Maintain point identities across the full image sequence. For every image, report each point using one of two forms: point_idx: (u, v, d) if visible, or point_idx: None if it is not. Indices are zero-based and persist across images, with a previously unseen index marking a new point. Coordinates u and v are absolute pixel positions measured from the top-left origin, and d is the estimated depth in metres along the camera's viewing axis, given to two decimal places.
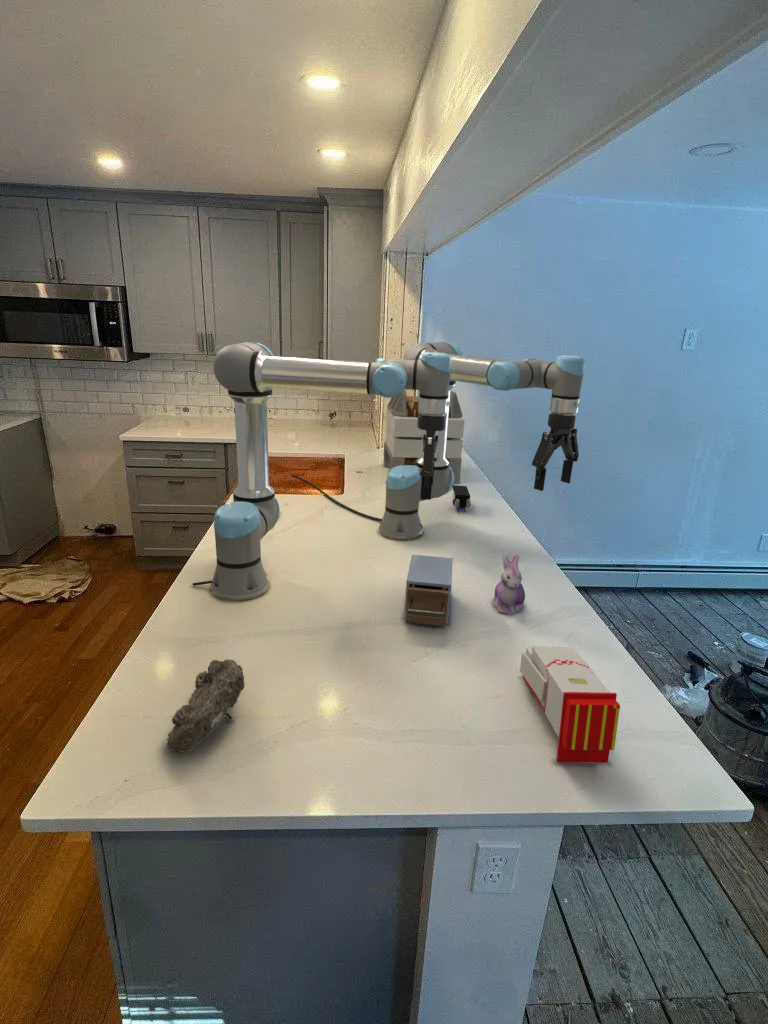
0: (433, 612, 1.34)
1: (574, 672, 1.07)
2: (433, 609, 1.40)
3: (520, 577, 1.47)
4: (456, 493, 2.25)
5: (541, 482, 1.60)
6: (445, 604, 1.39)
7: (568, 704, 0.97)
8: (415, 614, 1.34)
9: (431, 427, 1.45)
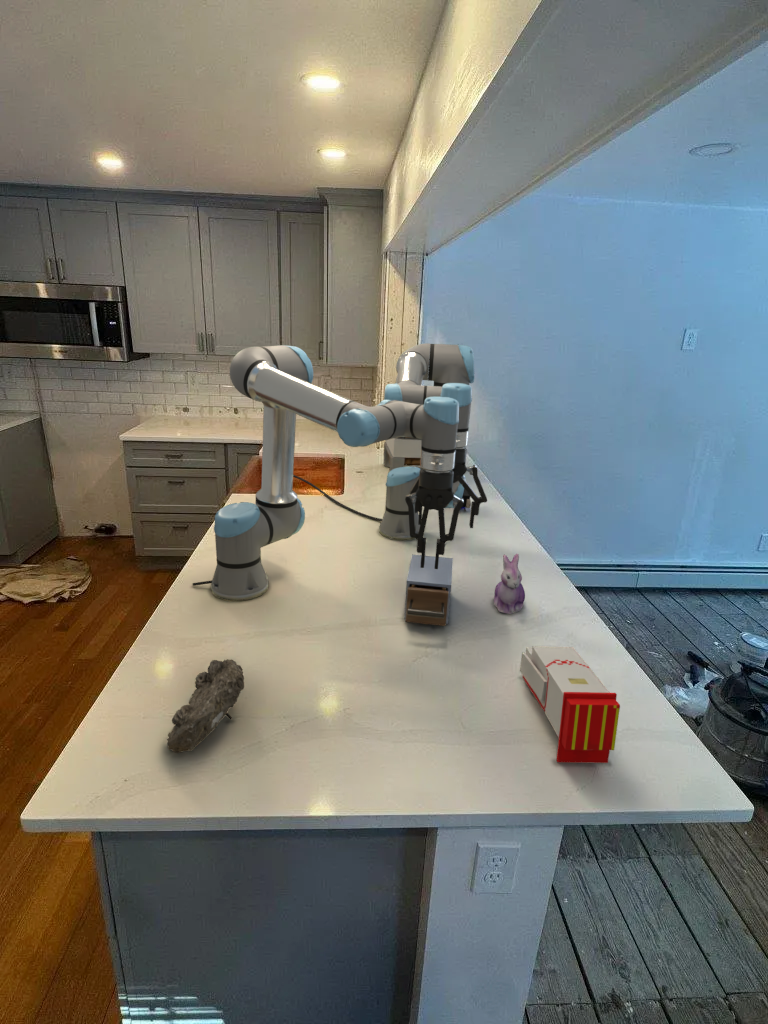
0: (433, 612, 1.34)
1: (574, 672, 1.07)
2: (433, 609, 1.40)
3: (520, 577, 1.47)
4: None
5: (418, 515, 1.49)
6: (445, 604, 1.39)
7: (568, 704, 0.97)
8: (415, 614, 1.34)
9: None
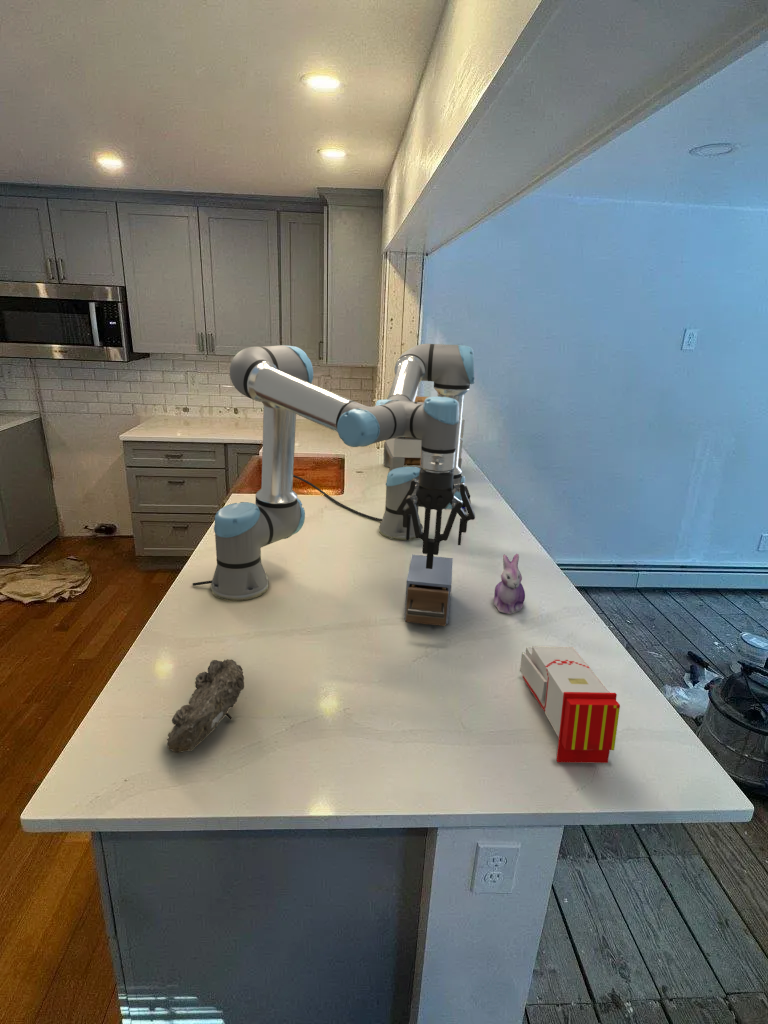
0: (433, 612, 1.34)
1: (574, 672, 1.07)
2: (433, 609, 1.40)
3: (520, 577, 1.47)
4: None
5: (406, 531, 1.49)
6: (445, 604, 1.39)
7: (568, 704, 0.97)
8: (415, 614, 1.34)
9: None
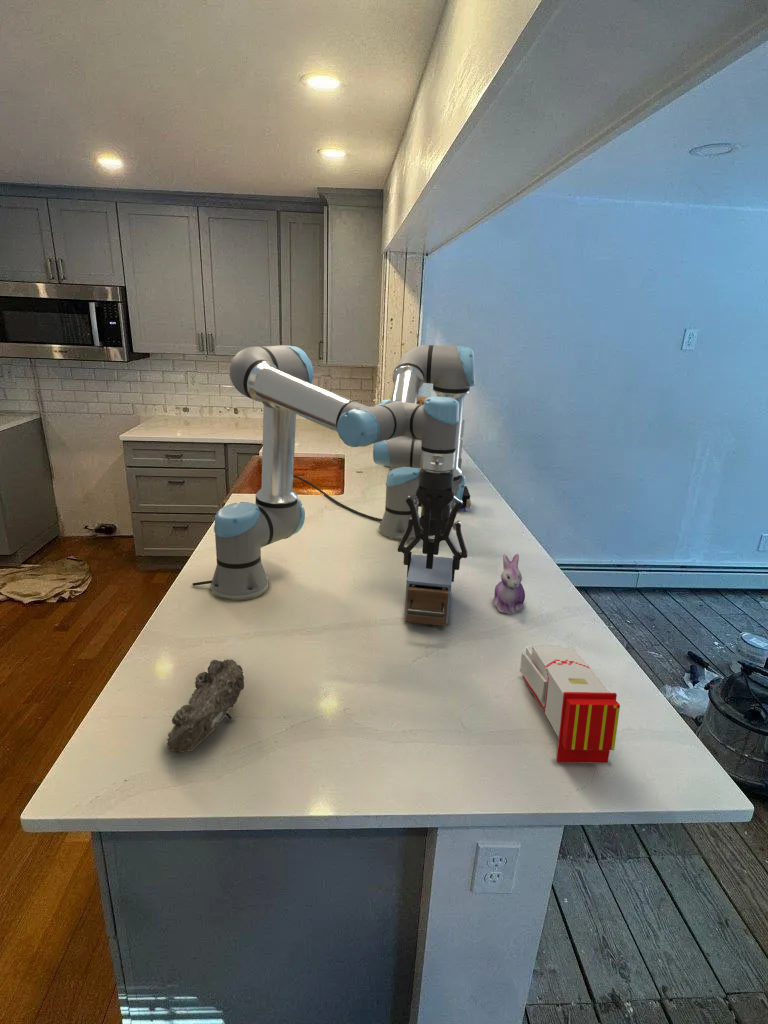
0: (433, 612, 1.34)
1: (574, 672, 1.07)
2: (433, 609, 1.40)
3: (520, 577, 1.47)
4: None
5: (407, 568, 1.53)
6: (445, 604, 1.39)
7: (568, 704, 0.97)
8: (415, 614, 1.34)
9: None
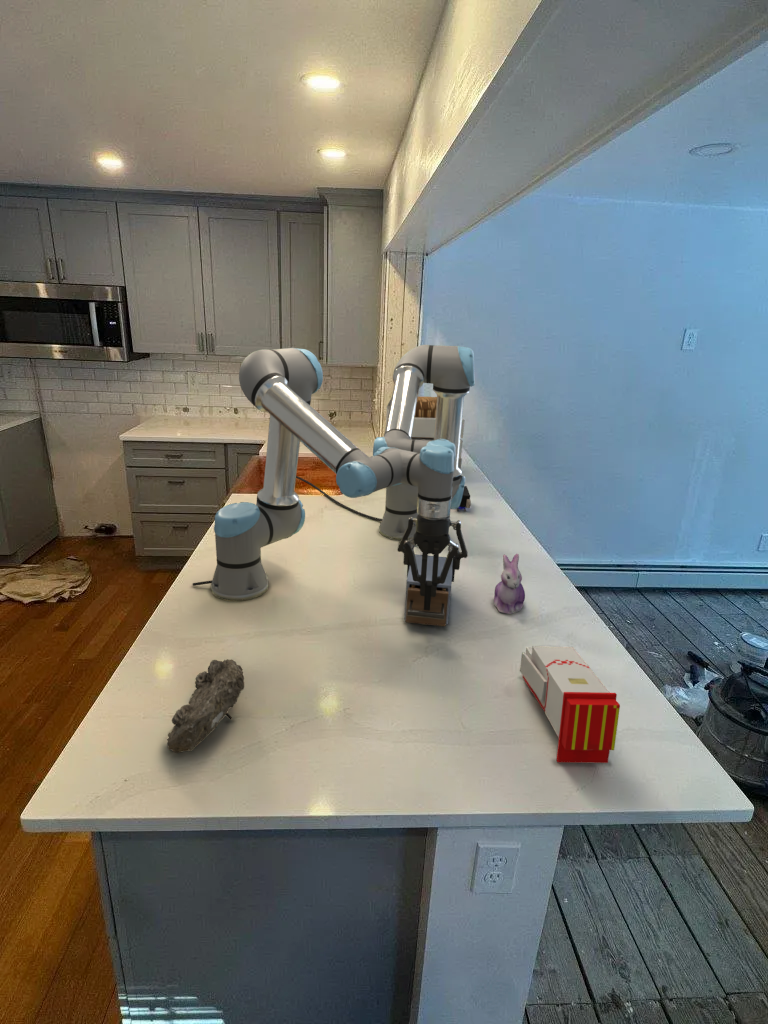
0: (433, 613, 1.34)
1: (574, 672, 1.07)
2: (433, 610, 1.40)
3: (520, 577, 1.47)
4: None
5: (407, 568, 1.53)
6: (445, 605, 1.39)
7: (568, 704, 0.97)
8: (415, 615, 1.34)
9: None
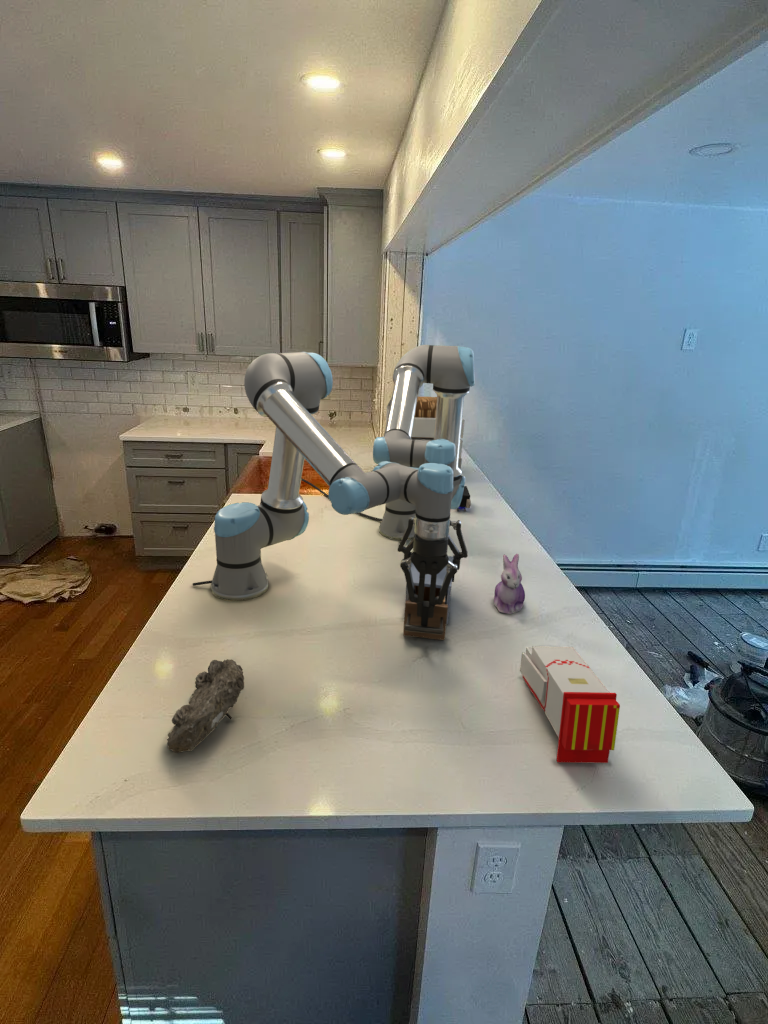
0: (431, 628, 1.28)
1: (574, 672, 1.07)
2: (432, 623, 1.35)
3: (520, 577, 1.47)
4: None
5: None
6: (444, 618, 1.34)
7: (568, 704, 0.97)
8: (413, 630, 1.29)
9: (413, 545, 1.25)
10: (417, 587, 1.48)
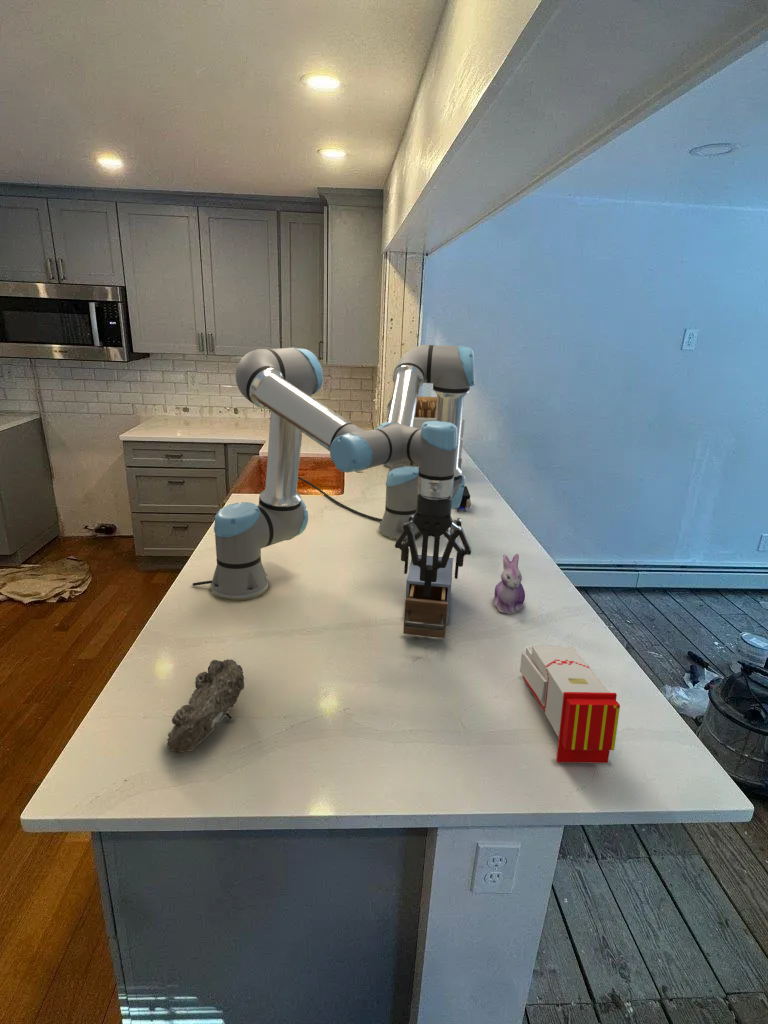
0: (431, 624, 1.29)
1: (574, 672, 1.07)
2: (432, 621, 1.35)
3: (520, 577, 1.47)
4: None
5: None
6: (444, 616, 1.34)
7: (568, 704, 0.97)
8: (413, 626, 1.29)
9: (416, 506, 1.22)
10: (417, 587, 1.48)
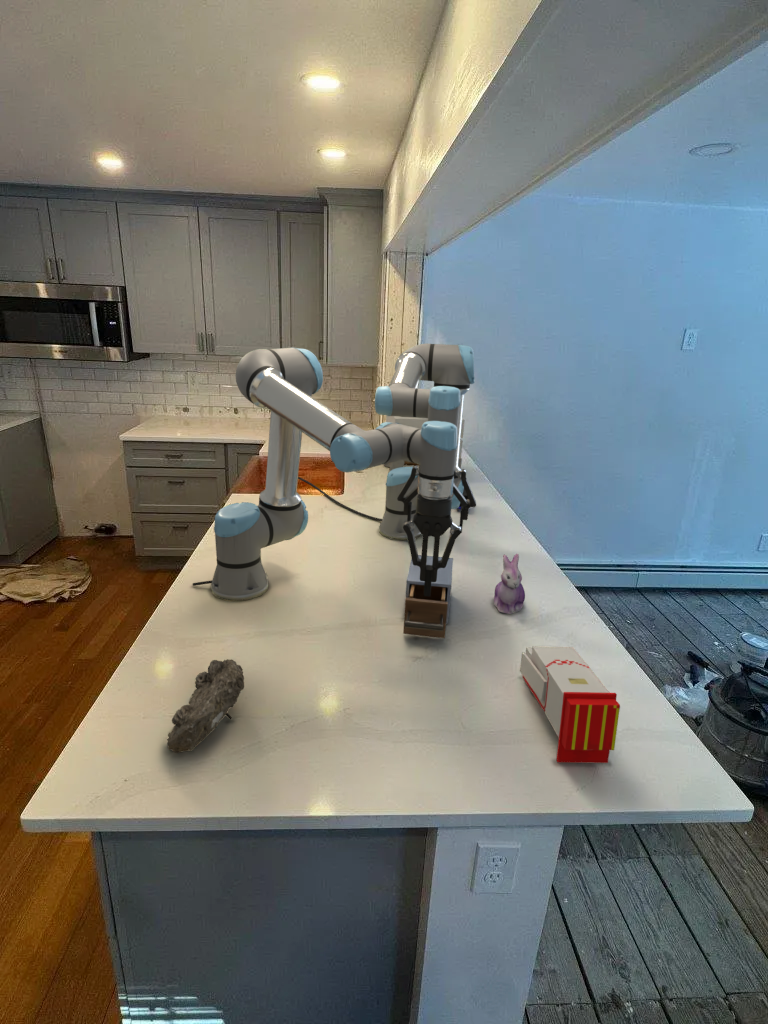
0: (431, 624, 1.29)
1: (574, 672, 1.07)
2: (432, 621, 1.35)
3: (520, 577, 1.47)
4: None
5: (407, 518, 1.48)
6: (444, 616, 1.34)
7: (568, 704, 0.97)
8: (413, 626, 1.29)
9: (416, 506, 1.22)
10: (417, 587, 1.48)
